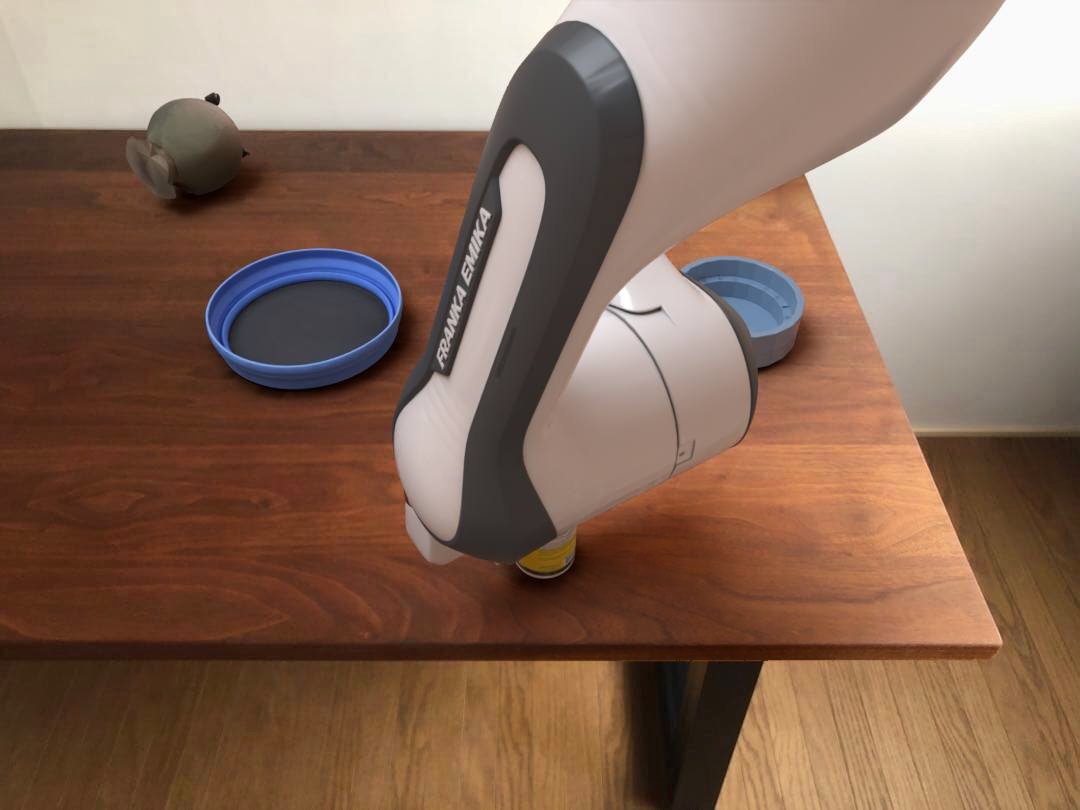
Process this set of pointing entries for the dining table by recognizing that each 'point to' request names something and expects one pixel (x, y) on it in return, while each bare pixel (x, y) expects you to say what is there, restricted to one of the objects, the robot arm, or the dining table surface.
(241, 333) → the bowl
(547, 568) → the supplement bottle
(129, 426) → the dining table surface
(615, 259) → the robot arm
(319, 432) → the dining table surface
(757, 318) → the blue bowl
